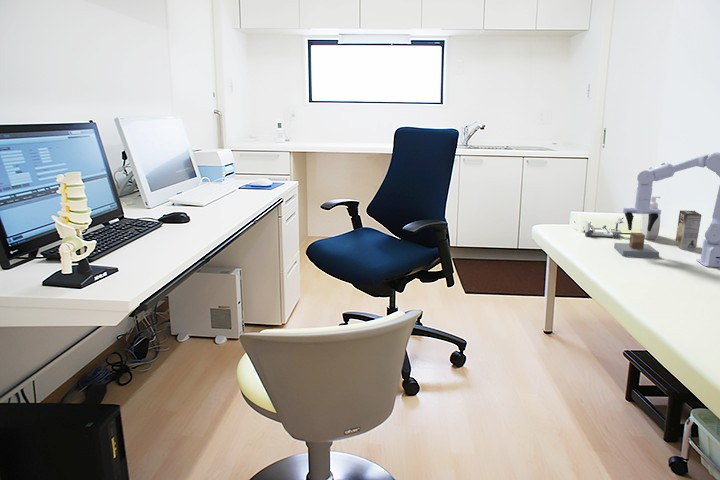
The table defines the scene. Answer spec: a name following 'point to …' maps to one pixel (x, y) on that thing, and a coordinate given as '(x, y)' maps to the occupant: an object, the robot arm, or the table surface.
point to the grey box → (636, 250)
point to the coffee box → (688, 230)
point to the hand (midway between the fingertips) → (639, 230)
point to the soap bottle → (655, 228)
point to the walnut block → (637, 240)
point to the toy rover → (601, 232)
